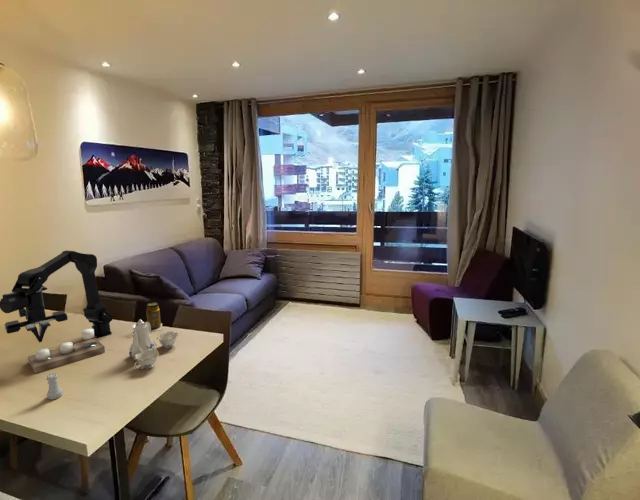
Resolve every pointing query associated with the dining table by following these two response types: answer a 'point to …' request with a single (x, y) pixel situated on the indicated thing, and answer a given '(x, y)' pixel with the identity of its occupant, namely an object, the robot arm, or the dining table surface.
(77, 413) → the dining table surface
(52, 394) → the rook chess piece
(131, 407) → the dining table surface
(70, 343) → the knob mid
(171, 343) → the chinaware
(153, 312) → the condiment
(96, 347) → the knob rail
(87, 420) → the dining table surface
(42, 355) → the knob
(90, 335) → the knob
